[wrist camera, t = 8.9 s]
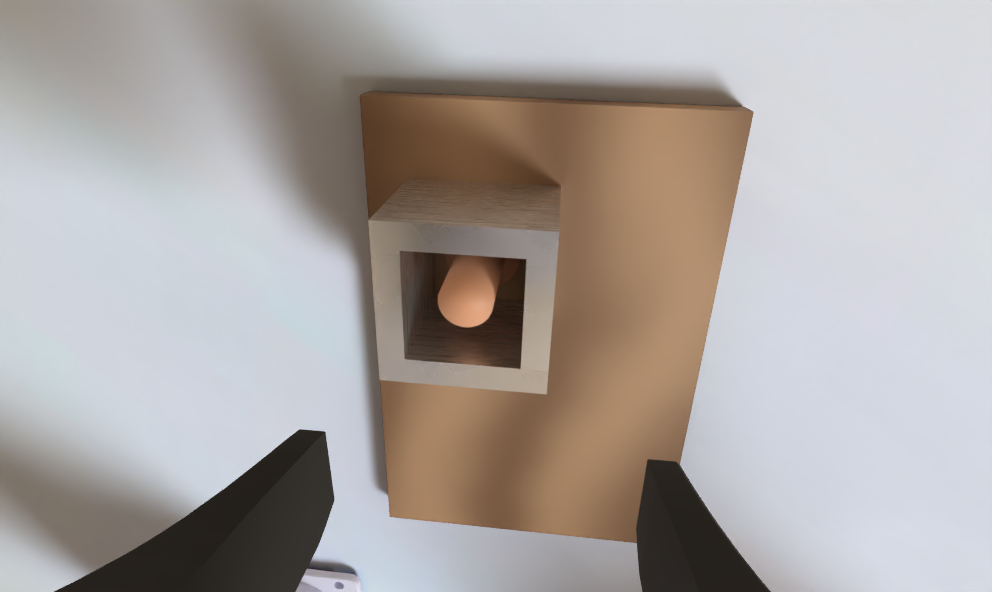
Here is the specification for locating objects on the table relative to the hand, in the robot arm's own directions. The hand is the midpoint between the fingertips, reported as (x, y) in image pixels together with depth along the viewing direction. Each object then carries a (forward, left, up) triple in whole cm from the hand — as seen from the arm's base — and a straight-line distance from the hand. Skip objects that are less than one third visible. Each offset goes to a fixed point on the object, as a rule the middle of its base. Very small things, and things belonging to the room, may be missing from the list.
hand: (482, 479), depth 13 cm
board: (+1, -2, -10) cm, 10 cm away
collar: (-1, +2, -9) cm, 9 cm away
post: (-1, +2, -10) cm, 10 cm away
